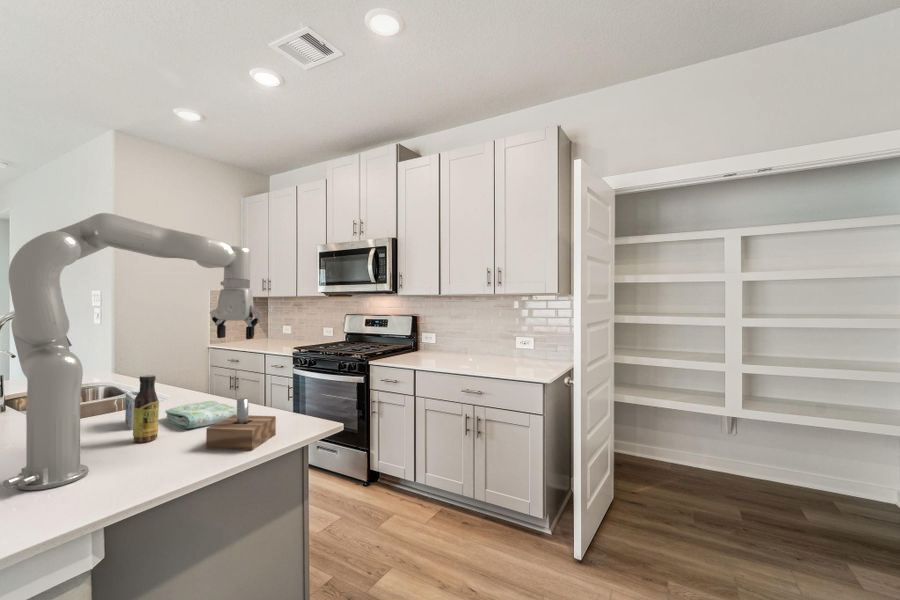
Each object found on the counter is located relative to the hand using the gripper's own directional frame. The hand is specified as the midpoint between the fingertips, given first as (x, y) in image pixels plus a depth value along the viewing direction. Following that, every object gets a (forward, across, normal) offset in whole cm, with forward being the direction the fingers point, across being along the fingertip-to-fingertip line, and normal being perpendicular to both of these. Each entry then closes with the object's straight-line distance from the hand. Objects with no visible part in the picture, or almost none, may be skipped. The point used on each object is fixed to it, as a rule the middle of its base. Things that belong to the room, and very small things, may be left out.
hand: (235, 338), depth 135 cm
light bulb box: (+32, -38, +6) cm, 50 cm away
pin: (+30, +6, -4) cm, 31 cm away
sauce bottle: (+32, -24, -7) cm, 40 cm away
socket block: (+31, +6, -4) cm, 32 cm away
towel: (+32, -21, +15) cm, 41 cm away
